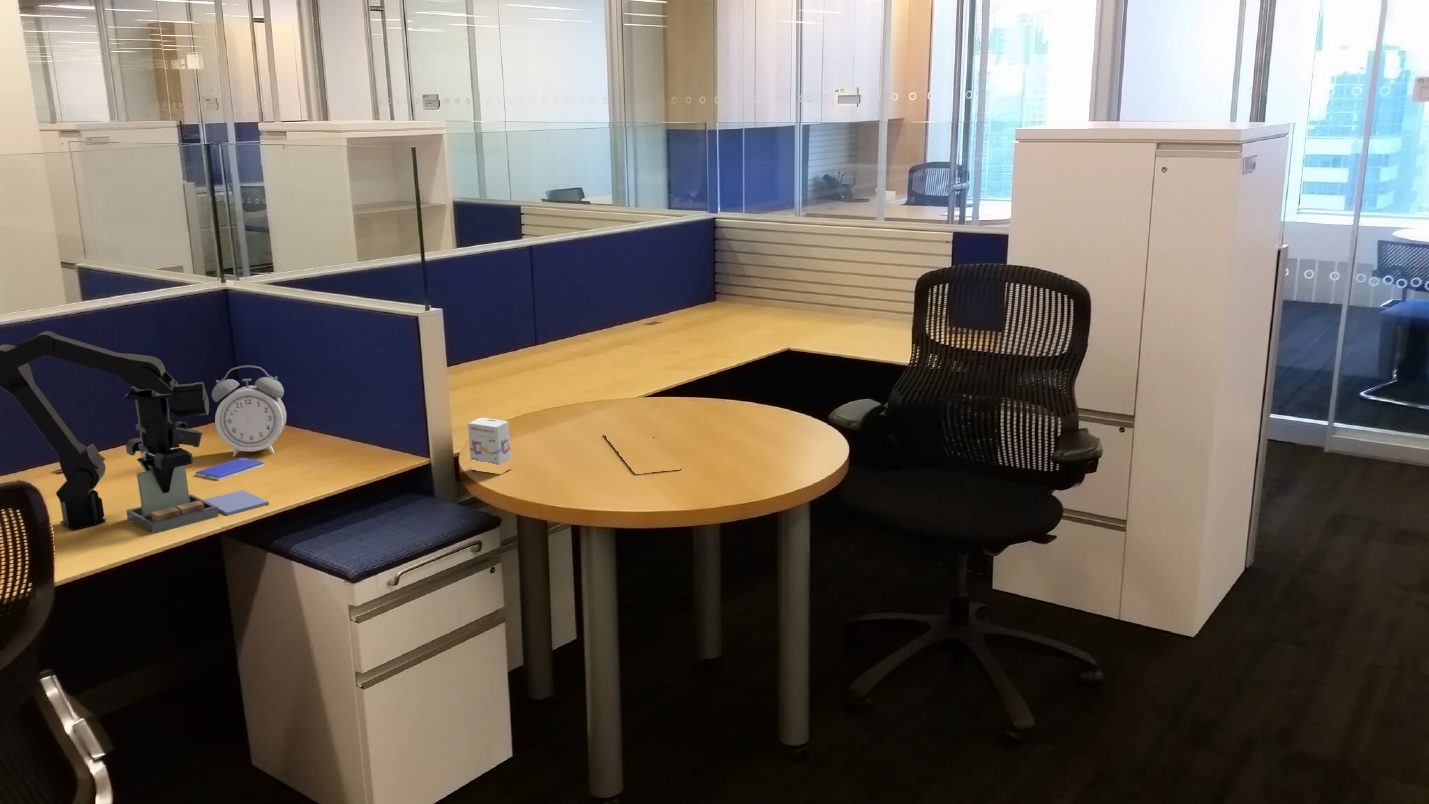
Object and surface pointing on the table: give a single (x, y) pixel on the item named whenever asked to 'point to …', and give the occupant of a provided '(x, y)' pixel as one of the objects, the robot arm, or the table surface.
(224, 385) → the alarm clock
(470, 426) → the ink box
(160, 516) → the offcut
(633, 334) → the table surface
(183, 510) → the offcut
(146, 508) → the green upright panel
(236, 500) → the mat
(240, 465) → the hard drive
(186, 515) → the rack
